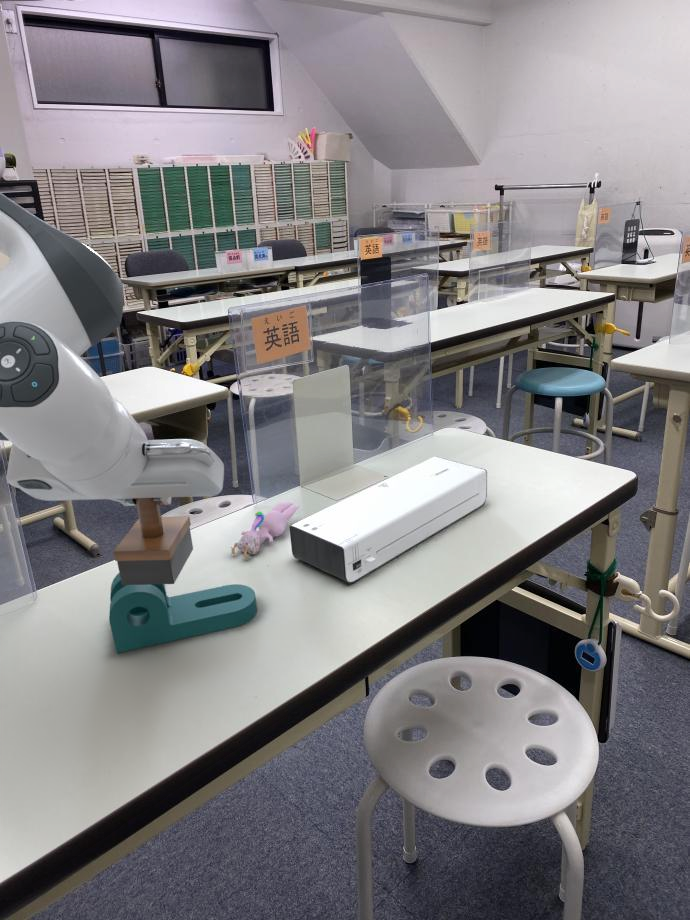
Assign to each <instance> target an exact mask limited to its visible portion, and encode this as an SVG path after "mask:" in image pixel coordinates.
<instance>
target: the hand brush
mask: <svg viewBox="0 0 690 920" xmlns="http://www.w3.org/2000/svg"><path fill="white" fill-rule="evenodd" d="M135 500H136V505H137V506H136V510H137V515H138V519H137V520H136V521H135V523H134V524H133V525H132V526H131V528H130V529H129V531H128V532H127V533H126V535H124V537H123V539H122V540H121V541H120V542H119V543H118V545H117V546H116V548H115V549H114V550H113V551H112V552H113V557H114V561H115V562H117V568H118V573H120V577H121V582H122V585H150V584H165V585H174V584H175V583H176V581H177V579H178V578H179V576H180V574H181V572H182V570H183V568H184V566H185V565H186V563H187V561H188V559H189V558H190V556H191V554H192V552H193V551H194V545H193V539H192V533H191V525H192V523H191V517H190V516H189V515H183V516H182V515H181V516H162V515H161V514H162V513H161V508H160V505H157V504H156V503H155V502H154V501H153V498H135Z"/></svg>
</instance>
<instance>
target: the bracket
mask: <svg viewBox="0 0 690 920" xmlns="http://www.w3.org/2000/svg"><path fill="white" fill-rule="evenodd" d="M109 600H110V602H109V603H110V604H109V613H108V619H109V625H110V629H111V630H110V631H111V633H112V638H113V639H112V640H113V643H114V647H115V651H116V654H119V653H120V654H121V653H124V652H128V651H133V650H137V649H141V648H147V647H150V646H156V645H161V644H164V643H165V644H166V643H168V642H169V643H170V642H173V641H174V642H175V641H178V640H182V639H186V638H191V637H196V636H200V635H205V634H209V633H215V632H218V631H222V630H227V629H233V628H235V627H241V626H242V625H245V624H247V623H249V622H250V621H251V620H253V619H254V618H255V616H256V615H257V614H258V605H257V597H256V592H255V590H254V589H253V588H252V587H250V586H248V585H245V584H238V583H237V584H226V585H221V586H217V587H211V588H207V589H202V590H198V591H192V592H187V593H182V594H178V595H174V596H168V595H167V589H166V584H150V585H122V582H121V577H120V573H119V572H118V573H117V574H116V575H115V577H113V579H112V582H111V585H110V596H109Z"/></svg>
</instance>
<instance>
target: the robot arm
mask: <svg viewBox="0 0 690 920" xmlns="http://www.w3.org/2000/svg"><path fill="white" fill-rule="evenodd" d="M0 253H2V254H3V255H5V256H6V257H8V258H9V259H8V262H7V263H6V264H5V266H4V267H3V268H1V269H0V441H5V442H11V448H10V452H9V456H8V464H7V472H6V482H7V484H9V485H10V486H12V487H14V488H15V489H19V490H21V491H22V492H23V493H25V494H27V495H28V496H30V497H32V498H33V499H36V500H40V501H46V502H57V501H58V502H59V501H61V502H62V501H90V500H91V501H92V500H93V501H94V500H110V501H113V502H118V503H120V504H121V505H123V506H124V507H134V506H136V507H137V505H136V500H135V498H153V501H154V502H155V503H156V504H157V505H159V506H167V505H168V506H169V505H171V504H172V498H188V497H215V496H217V495H219V494H220V493H222V491H223V488H224V478H225V464H224V462H223V461H222V460H221V458H220V457H219V456H218V454H216V453H215V452H214V451H213V449H211V448H210V447H208V446H207V445H206V444H204V443H203V442H201V441H199V440H195V439H191V438H189V439H188V438H173V439H148V437H147V435H146V432H145V431H144V429H143V428H142V427H141V426H140V424H139V423H138V422H137V421H136V419H135V418H134V417H133V416H132V415H131V413H130V412H129V411H128V410H127V408H126V407H125V406H124V405H123V404H122V403H121V401H119V400H118V399H117V398H116V397H114V396H112V394H111V392H110V389H109V387H108V386H107V384H106V383H105V381H104V380H103V379H102V378H101V377H100V376H99V374H97V372H96V371H95V369H93V368H92V366H90V365H89V363H87V361H85V360H84V359H83V358H82V357H81V356H82V355H83V354H84V353H86V352H87V350H89V349H90V348H92V347H95V346H96V345H97V344H99V342H101V341H102V340H104V339H105V338H106V337H107V336H109V335H110V334H111V333H113V332H114V331H115V330H117V328H119V327H120V326H121V324H122V318H123V313H124V304H125V303H124V301H125V297H124V295H125V294H124V285H123V282H122V279H121V278H120V276H118V274H117V273H116V272H115V270H114V269H113V268H112V266H111V265H110V264H109V263H108V262H107V260H106V259H105V258H103V256H101V255H100V253H98V252H97V251H95V250H94V249H92V248H91V247H89V246H88V245H86V244H84V243H83V242H81V241H79V240H78V239H77V238H75V237H73V236H71V235H70V234H68V233H66V232H65V231H62V230H61V229H58V228H57V227H55V226H54V225H52V224H50V223H48V222H46V221H44V220H42V219H41V218H39V217H37V216H36V215H34V214H33V213H32V212H30V211H28V210H27V209H26V208H24V207H22V206H21V205H19V204H18V203H17V202H15V201H13V200H12V199H11V198H9V197H7V196H6V195H5V194H4V193H1V192H0Z"/></svg>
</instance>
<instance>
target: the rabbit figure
mask: <svg viewBox="0 0 690 920" xmlns="http://www.w3.org/2000/svg"><path fill="white" fill-rule="evenodd" d="M300 506H301V505H300V504H294V505H293V503H291V502H280V503H278V504H276V505H275V506H273V508H272V509H271V510H270V511H267V512H266V513H265V514H264V513H263V511H259V510H258V511H257V512H255V514H254V516H255V518H254V520H253V522H252V525H251V528H250V530H244V531H242V532H241V533H240V534H241V535H242V536H241V538H240V540H238V542H234V544H233V547H232V546H231V547H230V548H231V554H230V555H231V556H232V555H233V556H237V554H236V552H235V549H236V548H237V549H238V550H239V551H240V552H242V553H243V556H242V558H243V559H244V558H245V560H246V562H247V560H248V559H249V557H248V554H249V555H256V554H257V553H258V552H259V550H260V548H261V544H262V543H264V542H265V541H266V539H268V541H269V543H273V542H274V539H273V538H276V537H279V536H281V535H282V534H283V533H284V532H285V530H286V526H287V523H288V521H289V520H290V519H291V518H292V517H293V516H294V514H295V513H296V511H297V510H298V508H299V507H300ZM257 528H258V529H257ZM247 553H248V554H247Z"/></svg>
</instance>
